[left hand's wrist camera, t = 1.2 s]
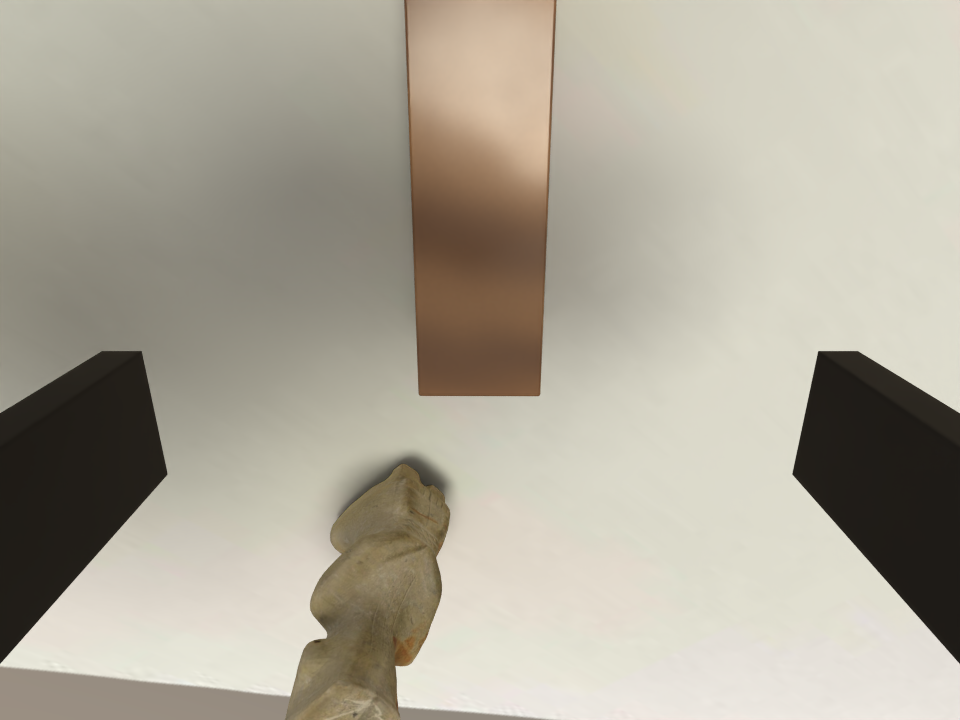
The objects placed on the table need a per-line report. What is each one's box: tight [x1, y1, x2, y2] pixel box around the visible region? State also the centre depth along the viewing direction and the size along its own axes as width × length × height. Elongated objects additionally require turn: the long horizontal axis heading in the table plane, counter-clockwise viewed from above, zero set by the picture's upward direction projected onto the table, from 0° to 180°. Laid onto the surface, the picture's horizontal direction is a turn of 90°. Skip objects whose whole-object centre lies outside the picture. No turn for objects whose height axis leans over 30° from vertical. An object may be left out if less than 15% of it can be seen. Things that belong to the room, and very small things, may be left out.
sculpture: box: [285, 464, 450, 720], centre depth 30 cm, size 6×7×15 cm
